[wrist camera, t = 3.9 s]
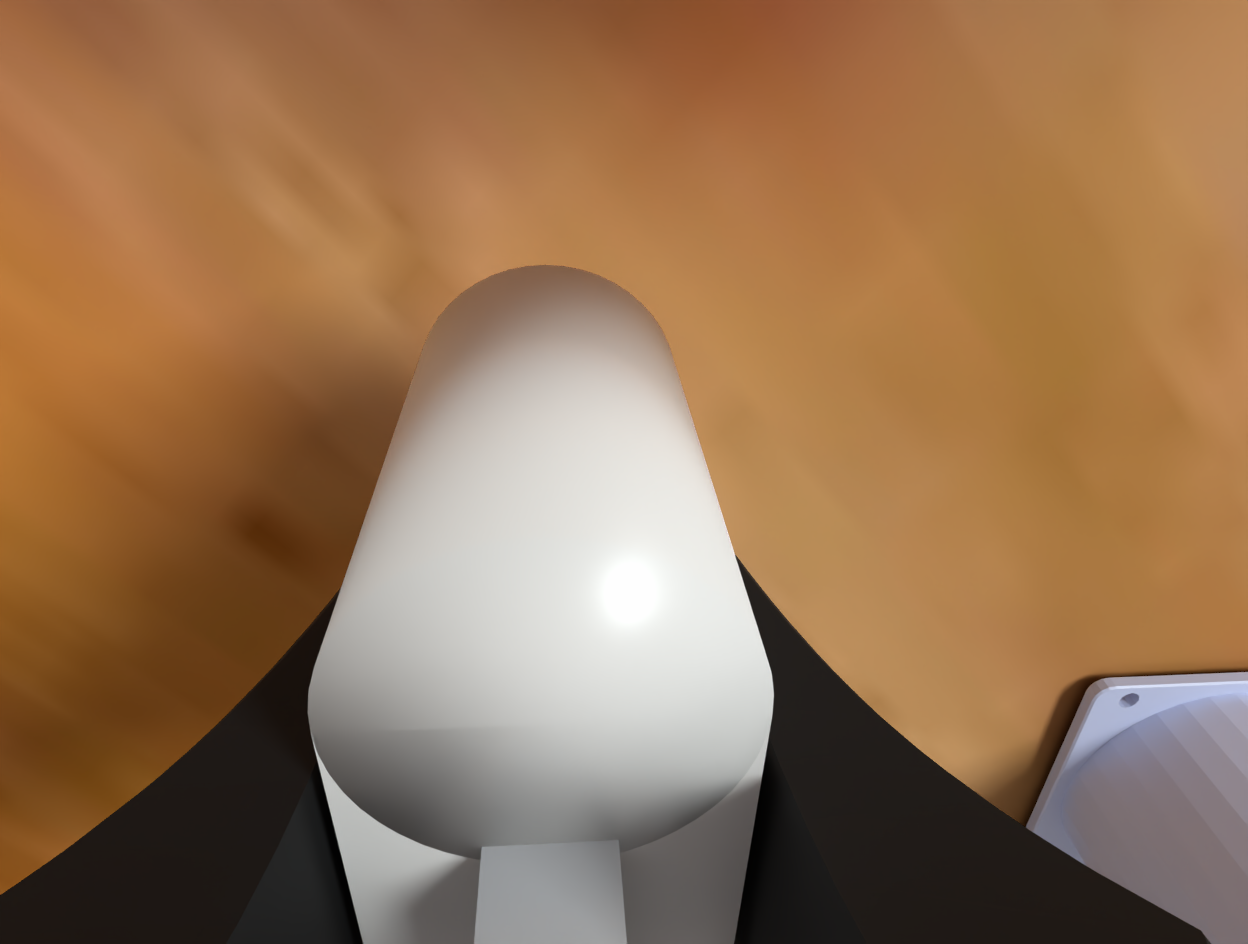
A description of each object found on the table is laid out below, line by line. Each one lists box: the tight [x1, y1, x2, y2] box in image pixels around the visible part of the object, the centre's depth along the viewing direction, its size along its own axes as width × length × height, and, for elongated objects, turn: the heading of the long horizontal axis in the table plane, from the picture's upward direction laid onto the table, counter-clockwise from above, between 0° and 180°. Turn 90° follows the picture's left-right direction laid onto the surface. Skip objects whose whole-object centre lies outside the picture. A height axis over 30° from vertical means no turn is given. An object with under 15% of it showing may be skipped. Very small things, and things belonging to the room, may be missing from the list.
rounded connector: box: [308, 265, 774, 944], centre depth 10 cm, size 4×9×7 cm, turn 178°
